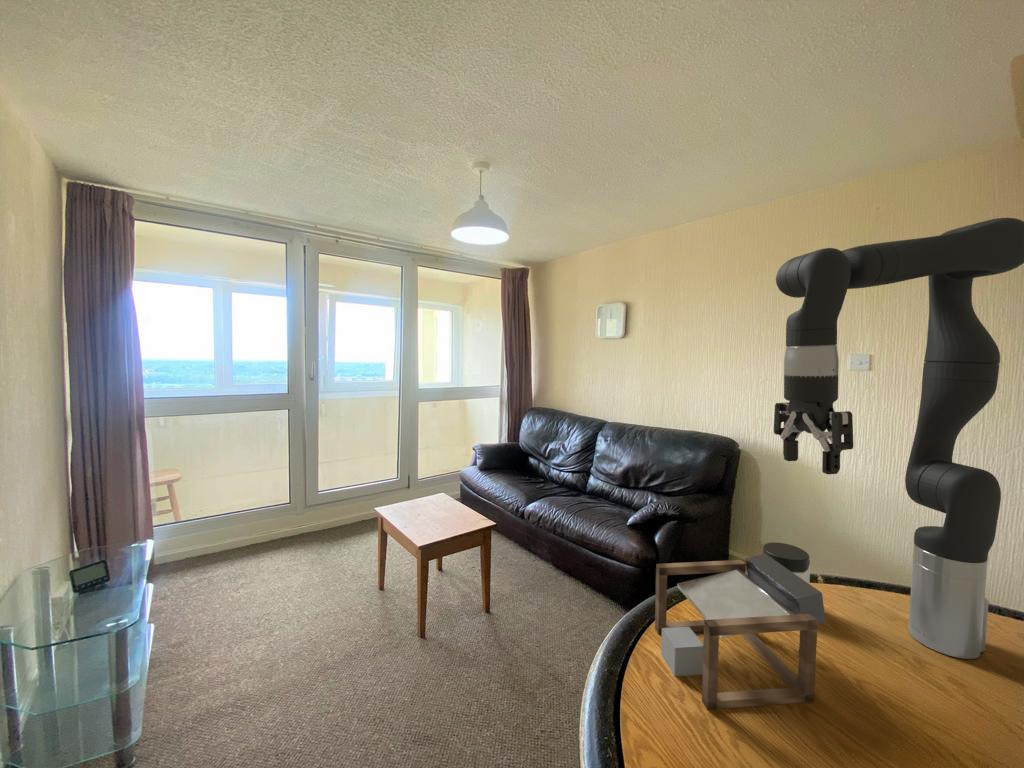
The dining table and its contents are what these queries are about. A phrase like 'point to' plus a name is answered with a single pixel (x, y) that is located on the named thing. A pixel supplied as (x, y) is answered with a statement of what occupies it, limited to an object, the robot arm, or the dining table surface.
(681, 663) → the gray cube
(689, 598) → the trapdoor
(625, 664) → the dining table surface
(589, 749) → the dining table surface
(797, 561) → the jar
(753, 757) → the dining table surface
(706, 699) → the frame
